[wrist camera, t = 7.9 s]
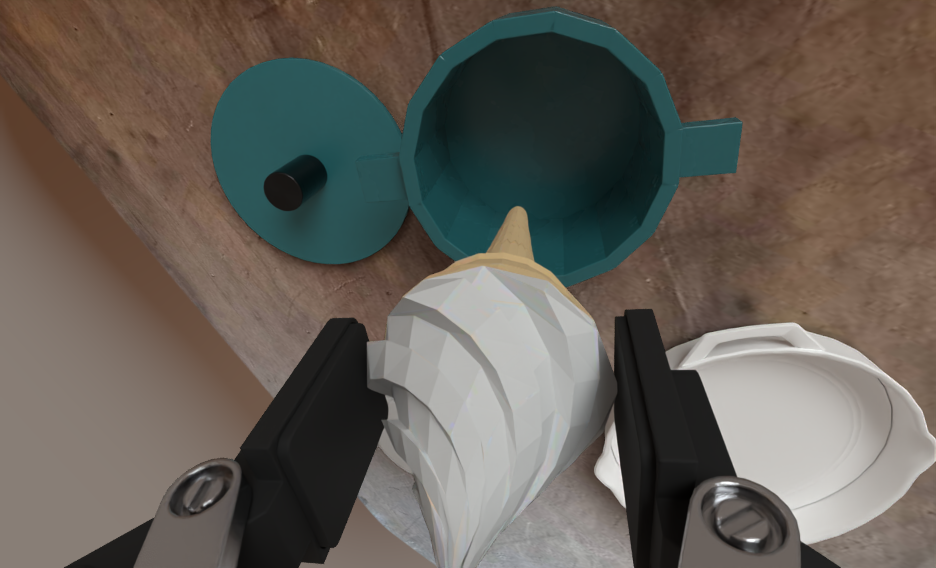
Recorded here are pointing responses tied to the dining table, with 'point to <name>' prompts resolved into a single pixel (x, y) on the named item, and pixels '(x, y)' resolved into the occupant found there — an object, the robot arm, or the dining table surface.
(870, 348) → the dining table surface
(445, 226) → the pot
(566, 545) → the dining table surface
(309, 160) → the pot lid
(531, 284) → the ice cream cone
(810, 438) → the pan
